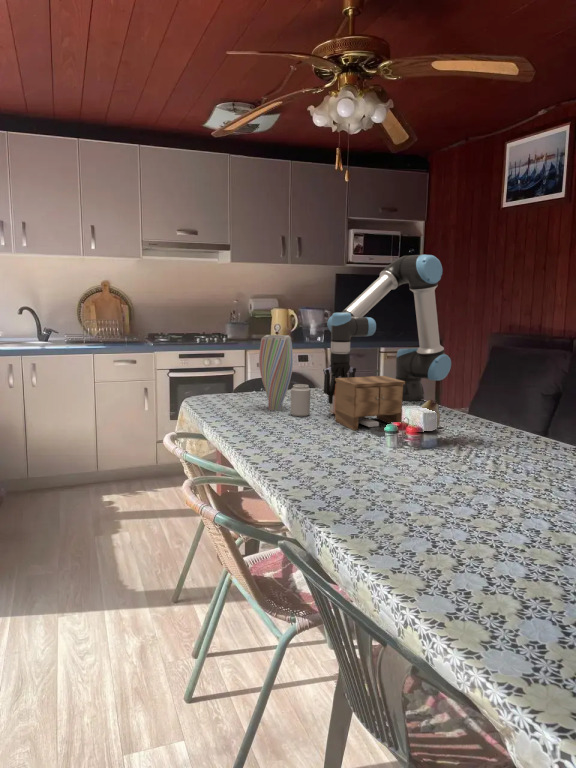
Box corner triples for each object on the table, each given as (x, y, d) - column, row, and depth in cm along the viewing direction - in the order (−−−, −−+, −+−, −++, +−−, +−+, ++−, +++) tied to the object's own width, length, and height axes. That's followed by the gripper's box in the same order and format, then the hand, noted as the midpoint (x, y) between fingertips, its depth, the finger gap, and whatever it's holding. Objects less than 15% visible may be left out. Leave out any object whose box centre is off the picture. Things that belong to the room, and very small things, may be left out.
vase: (289, 413, 233) (290, 337, 229) (255, 411, 236) (256, 336, 231) (294, 406, 247) (295, 335, 242) (262, 404, 249) (263, 334, 244)
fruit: (437, 435, 201) (440, 401, 200) (410, 433, 204) (412, 399, 202) (440, 429, 211) (442, 396, 209) (413, 426, 214) (415, 394, 212)
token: (384, 432, 207) (384, 426, 206) (393, 436, 201) (394, 430, 201) (369, 433, 204) (369, 428, 204) (378, 437, 199) (378, 432, 198)
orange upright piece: (330, 412, 233) (330, 382, 231) (341, 411, 235) (341, 381, 233) (367, 427, 207) (368, 393, 205) (379, 425, 208) (380, 392, 207)
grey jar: (309, 417, 226) (310, 386, 224) (290, 416, 227) (291, 386, 225) (309, 413, 234) (310, 383, 232) (290, 412, 234) (291, 383, 232)
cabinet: (382, 417, 228) (383, 375, 225) (404, 426, 214) (406, 382, 211) (333, 421, 220) (335, 378, 217) (353, 431, 206) (355, 384, 203)
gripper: (355, 350, 235) (353, 407, 238) (315, 352, 228) (314, 410, 231) (365, 352, 228) (363, 411, 232) (323, 354, 221) (322, 414, 225)
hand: (338, 410), depth 232 cm, fingers closed on orange upright piece, 5 cm apart
